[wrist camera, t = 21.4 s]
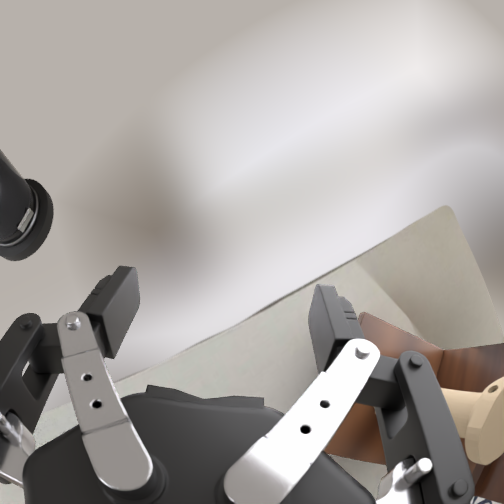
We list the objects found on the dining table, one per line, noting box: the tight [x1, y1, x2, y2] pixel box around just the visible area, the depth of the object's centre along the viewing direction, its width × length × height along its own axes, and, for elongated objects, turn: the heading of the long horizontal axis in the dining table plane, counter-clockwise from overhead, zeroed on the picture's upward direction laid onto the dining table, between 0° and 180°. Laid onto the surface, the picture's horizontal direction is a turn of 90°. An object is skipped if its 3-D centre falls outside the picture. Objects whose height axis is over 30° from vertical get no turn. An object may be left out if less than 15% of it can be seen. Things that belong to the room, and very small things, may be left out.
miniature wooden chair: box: [324, 312, 504, 504], centre depth 20 cm, size 13×14×22 cm
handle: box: [374, 377, 504, 465], centre depth 18 cm, size 5×6×15 cm
